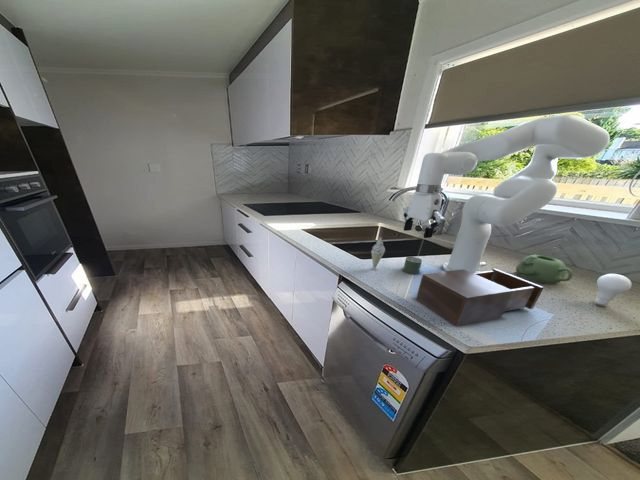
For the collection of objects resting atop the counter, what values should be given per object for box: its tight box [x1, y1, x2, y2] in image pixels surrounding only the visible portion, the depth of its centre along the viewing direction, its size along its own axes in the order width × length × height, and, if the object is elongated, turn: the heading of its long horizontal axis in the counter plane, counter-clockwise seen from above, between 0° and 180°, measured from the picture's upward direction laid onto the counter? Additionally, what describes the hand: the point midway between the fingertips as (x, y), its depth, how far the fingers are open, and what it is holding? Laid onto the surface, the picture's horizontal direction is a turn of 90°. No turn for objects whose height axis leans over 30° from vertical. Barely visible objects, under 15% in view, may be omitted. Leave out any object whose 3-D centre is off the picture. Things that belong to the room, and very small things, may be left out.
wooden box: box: [415, 269, 513, 327], centre depth 76 cm, size 17×15×10 cm
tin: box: [403, 256, 423, 275], centre depth 102 cm, size 6×6×6 cm
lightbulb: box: [594, 273, 632, 306], centre depth 77 cm, size 6×6×11 cm
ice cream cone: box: [370, 236, 386, 271], centre depth 102 cm, size 5×5×15 cm
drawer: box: [474, 268, 545, 312], centre depth 79 cm, size 20×13×8 cm
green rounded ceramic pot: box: [515, 254, 574, 285], centre depth 93 cm, size 16×13×9 cm
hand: (416, 233), depth 95 cm, fingers open, 9 cm apart
